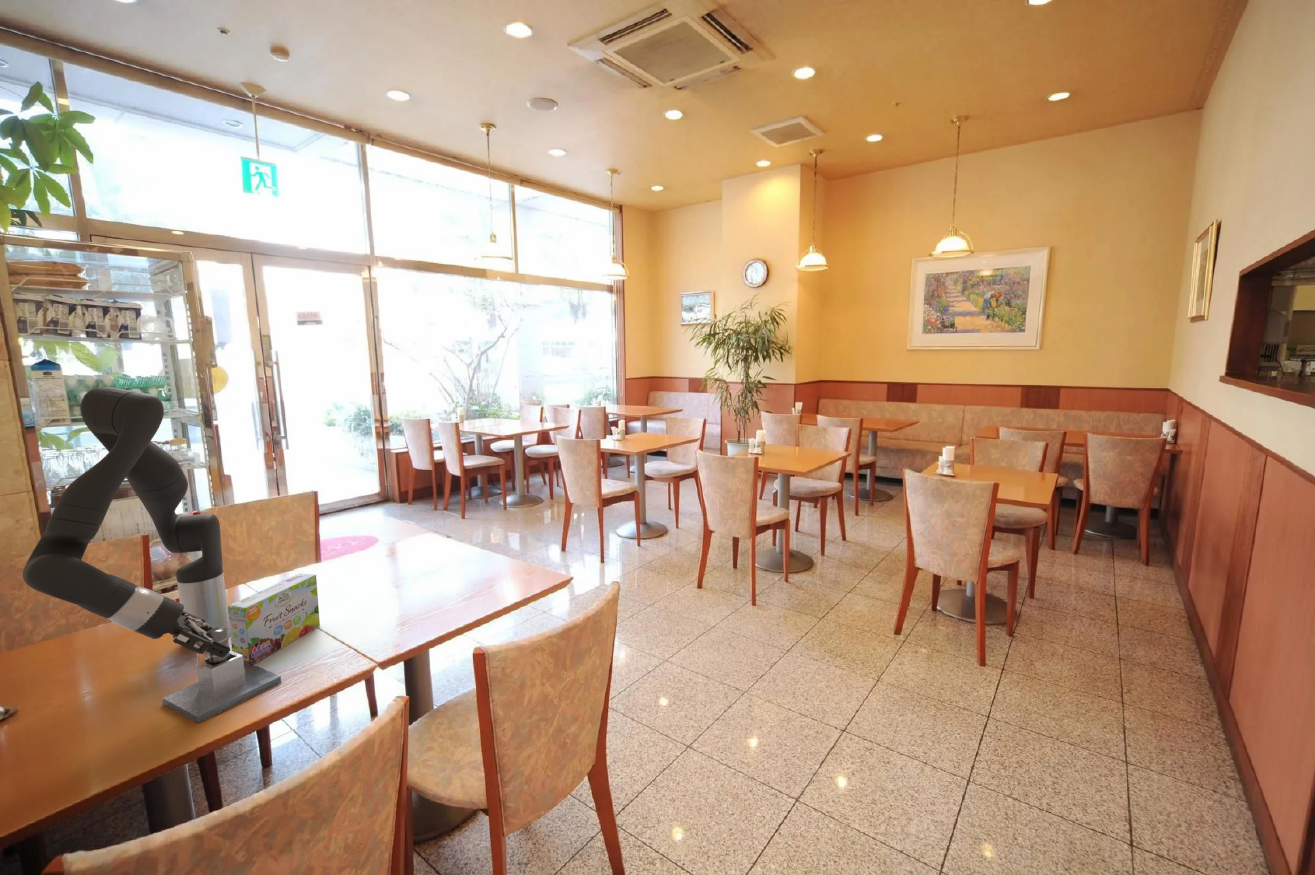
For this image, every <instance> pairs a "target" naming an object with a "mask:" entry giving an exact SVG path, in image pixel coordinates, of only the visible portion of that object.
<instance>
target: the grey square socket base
mask: <svg viewBox="0 0 1315 875" xmlns="http://www.w3.org/2000/svg"><path fill="white" fill-rule="evenodd" d="M195 655H196V660H197V662H195V663H196V671H197V678H198V681H197V682H195V683H193V684H190V685H188V686H185V687H184V688H181V689H179V690H177V691H175V692H172V693H170V694H168V695H165V696H163V697H162V698H161V699H162V704H163V705H164V706H165V707H167V708H169V709H171V710H173V711H175V712H176V713H178V714H180V715H182V716H184V717H185V718H187V719H189V720H191V721H193V722H194V723H196V722H197V723H196V724H200V723H202V722H204V721H206V720H208V719H210V718H212V717H214V716H216V715H219V714H220V713H222V712H224V711H226V710H228V709H230V708H233V707H235V706H236V705H239V704H241V703H242V702H245V701H247V700H249V699H251V698H253V697H254V695H255V696H256V694H257V695H258V694H260V693H262V692H264V691H267V690H269V689H272V688H273V687H275V686H277V685H279V684H281V683H282V678H281V677H282V676H281V675H279V674H277V673H274V672H272V671H269V670H267V669H266V668H265V669H264V668H263V667H261V666H258V665H256V664H254V665H253V664H251V663H248V662H246V661H245V662H244V661H243V655H240V654H238V653H236V652H233V651H232V649H230V658H231V659H230V660H227V661H225V662H223V663H220V664H218V665H216V666H212V665H210V664H209V656H208V657H205V652H204V653H203V654H199V653H198V652H196V654H195ZM248 698H249V699H248ZM246 699H247V700H246ZM244 700H245V701H244ZM238 703H239V704H238ZM221 711H222V712H221ZM219 712H220V713H219ZM213 715H214V716H213ZM211 716H212V717H211ZM209 717H210V718H209ZM205 719H206V720H205ZM203 720H204V721H203ZM201 721H202V722H201Z"/></svg>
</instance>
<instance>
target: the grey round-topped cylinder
mask: <svg viewBox="0 0 1315 875" xmlns="http://www.w3.org/2000/svg"><path fill="white" fill-rule="evenodd" d="M206 635H207V636H208V637H210V638H211V639H213V640H215V641H217V642H219V643H222V644H224V645H226V646H229V647H230V642H229V637H228V634H227V628H226V627H216V628H213V629H210V630H208V631H207V634H206ZM207 656H208V657H209V664H210V665H212V666H216V665H218V664H220V663H223V662H225V661H227V660H230V659H231V658H230V651H229V652H228V653H227V654H226V656H225V657H219V656H216V655H214V654H212V653H209V652H207Z"/></svg>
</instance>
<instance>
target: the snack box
mask: <svg viewBox="0 0 1315 875" xmlns="http://www.w3.org/2000/svg"><path fill="white" fill-rule="evenodd" d="M317 583H318V582H317V574H314V573H313V574H312V573H301V572H300V573H297V574H295V575H293V576H291V577H289V578H287V579H284V580H282V581H279V582H277V583H275V584H274V585H271V586H269V587H267V588H265V589H262V590H260V591H258V592H255V593H253V594H251V595H249V596H246V597H244V598H243V599H241V600H238V601H236V602H233V603H231V604H229V605H227V606H228V616H229V626H230V644H231V651H233V652H236V653H238V654H240V655H243V661H244V662H245V661H246V662H248V663H251V664H253V665H256V664H257V663H260V662H261V661H263V660H264V659H266V658H268V657H269V656H271V655H272V654H274V653H277V652H278V651H280V650H282V649H283V648H284V647H286V646H288V645H290V644H292V643H294V642H295V641H297V640H299V639H300V638H302V637H304V636H306V635H307V634H309V633H311V632H312V631H313V630H316V629H318V628H319V627H320V626H321V621H320V610H319V597H318V596H319V594H318V584H317ZM318 626H319V627H318ZM315 628H316V629H315ZM311 630H312V631H311ZM310 631H311V632H310Z"/></svg>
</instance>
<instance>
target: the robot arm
mask: <svg viewBox="0 0 1315 875" xmlns="http://www.w3.org/2000/svg"><path fill="white" fill-rule="evenodd" d="M80 414H81V417H82V420H83V423H84V425H85V426H86V427H87V429H88V430H89V431H90V433H91V434H93V436H94V437H95V438H96V439H97V440H98V441H99V442H100V444H101V445H102V446H103V447H104V448H105V449H106V451H107V452H108V453H107V454H106V455H105V456H104V457H103V458H102V459H101V460H99V461H98V462H97V463H95V464H94V465H93V466H92V467H90V468H89V469H87V470H86V471H84V473H82V474H81V475H79V476H78V477H77V478H76V479H74V480H73V481H72V482H70V484H69V485H67V487H66V488H65V489H64V491H62V493H61V495H60V497H59V499H58V500H57V503H56V505H55V507H54V509H53V511H52V513H51V516H50V518H49V519H48V522H47V524H46V528H45V530H44V533H43V534H42V536H41V537H40V539H39V540H38V542H37V544H36V546H35V547H34V549H33V550H32V552H31V554H30V556H29V558H28V560H27V562H26V564H25V566H24V568H23V571H22V578H23V581H24V583H25V584H26V585H27V586H28V587H30V588H31V589H32V590H34V591H37V592H39V593H41V594H44V595H48V596H51V597H53V598H56V599H59V600H62V601H65V602H67V603H71V604H74V605H77V606H78V607H81V609H83V610H85V611H88V612H90V613H92V614H94V615H97V616H100V617H101V618H104V619H107V620H109V621H111V622H113V623H114V624H116V625H118V626H120V627H123V628H125V629H126V630H127V629H128V630H130V631H132V632H135V633H137V634H140V635H143V636H146V637H147V638H150V639H152V640H157V639H160V638H161V637H163V635H165V634H170V635H171V636H172V639H173V640H172V642H173V643H174V644H177V645H179V646H181V647H184V648H186V649H189V650H191V651H193V652H196V653H199V654H203V653H204V654H205V653H208V652H209V653H212V654H214V655H216V656H219V657H225V656H226V654H227V653H228V652H229V651H230V650H231V647H230V645H229V646H226V645H224V644H222V643H219V642H217V641H215V640H213V639H211V638H210V637H208V636H207V635H206V634H207V631H208V630H210V629H213V628H216V627H226V628H227V634H228V638H230V637H231V635H230V626H229V616H228V606H229V605H228V600H227V591H226V583H225V577H224V568H223V553H222V552H223V550H222V538H221V534H222V533H221V524H220V522H219V521H220V520H219V518H218V516H217V515H216V514H214V513H200V514H191V515H189V514H188V515H178V514H177V513H176V512H175V511H176V509H177V508H178V506H179V505H180V504H181V502H182V501H183V499H184V497H185V496H186V494H187V492H188V487H189V481H188V478H187V477H186V474H185V472H184V470H183V469H182V467H181V465H180V464H179V462H178V461H177V459H176V458H175V457H174V456H172V455H171V454H169V452H167V451H166V450H165V449H163V448H162V447H160V446H159V445H158V444H156V443H154V442H153V441H152V440H153V438H154V436H156V434H157V432H158V430H159V428H160V426H161V425H162V422H163V419H164V415H165V408H164V404H163V402H162V400H161V399H160V398H159V397H158V396H156V395H153V394H150V393H146V392H140V391H135V390H134V391H133V390H129V389H124V388H119V387H118V388H117V387H111V386H101V387H100V386H99V387H95V388H92V389H90V390H88V391H87V392H86V393H85V394H84V396H83V397H82V400H81V403H80ZM125 479H126V480H127V481H128V483H129V485H130V487H131V488H132V490H133V492H134V494H136V497H138V500H140V502H141V503H142V505H143V506H144V508H145V509H146V511H147V512H148V513H147V514H148V515H149V516H150V518H151V520H152V522H153V524H154V527H155V529H156V531H157V533H158V536H159V538H160V541H161V543H162V544H163V546H164V548H165V549H166V550H167V551H168V552H169V553H171V554H184V553H185V554H186V553H194V552H201V557H199V558H197V559H196V560H193V561H190V562H188V563H186V564H184V565H182V566H180V567H179V568H177V570H176V572H175V573H176V574H175V576H176V584H177V590H178V599H179V601H176V600H175V599H173V598H170V597H167V596H166V595H164V594H160V593H159V592H156V591H154V590H152V589H150V588H146V587H143V586H139V585H137V584H135V583H132V582H131V581H128V580H127V579H124V578H121V577H120V576H116V575H113V574H109V573H107V572H104V571H103V570H102V569H99V568H98V567H96V566H93V565H92V564H89V563H88V562H85V561H84V560H82V559H83V557H84V555H85V553H86V551H87V550H86V549H88V548H87V547H88V546H89V544H90V542H91V541H92V540H93V539H94V538H95V537H96V535H97V534H98V532H99V531H100V528H101V526H102V525H103V523H104V519H105V518H106V515H107V512H108V510H109V508H110V505H111V504H112V501H113V500H114V497H115V496H116V494H117V492H118V490H119V488H120V487H121V486H122V483H124V481H125Z"/></svg>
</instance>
